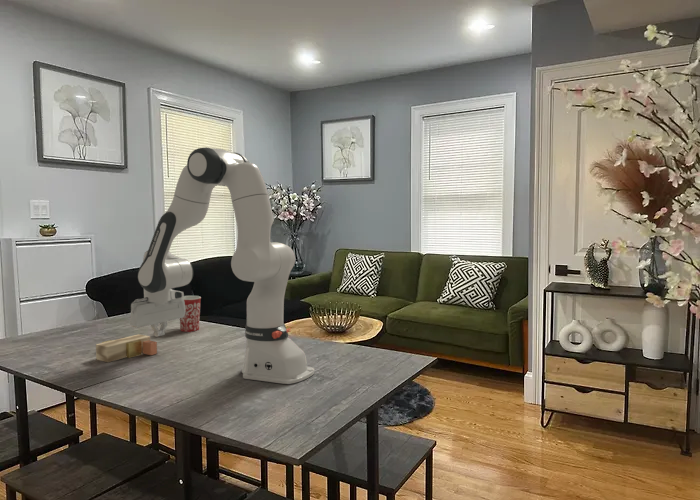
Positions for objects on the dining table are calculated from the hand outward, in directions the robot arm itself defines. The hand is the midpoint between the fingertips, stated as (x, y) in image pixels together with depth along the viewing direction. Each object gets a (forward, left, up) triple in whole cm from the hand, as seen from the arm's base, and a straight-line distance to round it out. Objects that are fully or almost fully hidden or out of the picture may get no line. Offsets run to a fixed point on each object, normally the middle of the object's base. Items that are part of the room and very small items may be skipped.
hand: (159, 335), depth 168 cm
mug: (+18, -28, -6) cm, 34 cm away
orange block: (+1, +3, -6) cm, 7 cm away
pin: (+11, +8, -6) cm, 15 cm away
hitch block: (+7, +9, -6) cm, 13 cm away
